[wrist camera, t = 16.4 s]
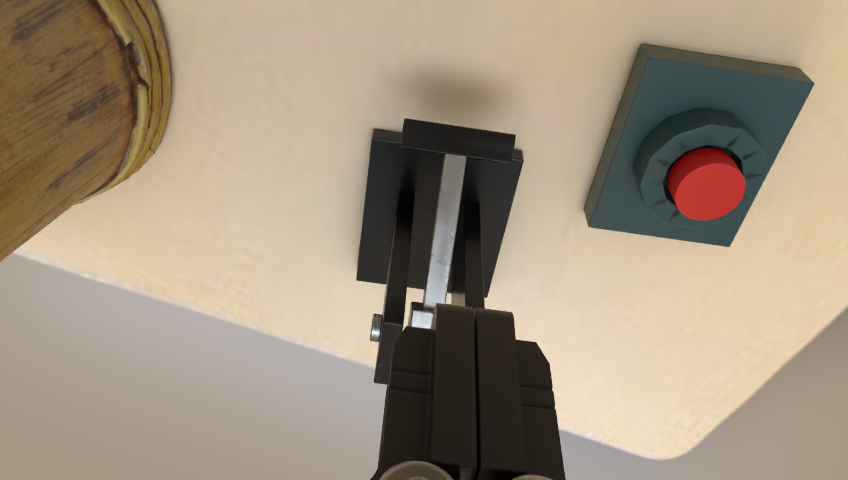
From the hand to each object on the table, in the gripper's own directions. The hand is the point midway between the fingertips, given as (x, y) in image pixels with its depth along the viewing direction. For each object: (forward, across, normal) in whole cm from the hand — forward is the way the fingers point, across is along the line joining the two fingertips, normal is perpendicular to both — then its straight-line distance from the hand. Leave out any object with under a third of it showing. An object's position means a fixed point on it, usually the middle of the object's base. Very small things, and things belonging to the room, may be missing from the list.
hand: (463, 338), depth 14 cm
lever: (+19, -1, +12) cm, 23 cm away
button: (+23, -15, +8) cm, 29 cm away
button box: (+27, -15, +8) cm, 32 cm away
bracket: (+27, -1, +16) cm, 31 cm away
